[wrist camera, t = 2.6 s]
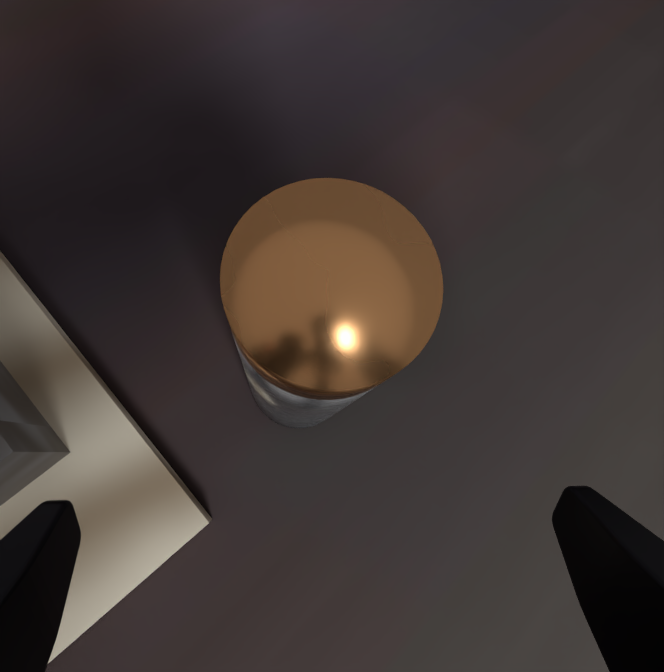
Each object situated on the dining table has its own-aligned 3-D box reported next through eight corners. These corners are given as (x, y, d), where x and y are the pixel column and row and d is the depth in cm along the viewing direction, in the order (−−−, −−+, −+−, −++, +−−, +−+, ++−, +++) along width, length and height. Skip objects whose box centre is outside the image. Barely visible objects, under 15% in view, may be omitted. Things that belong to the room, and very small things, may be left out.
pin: (365, 385, 20) (486, 295, 9) (292, 449, 19) (322, 439, 8) (304, 314, 21) (344, 140, 9) (230, 373, 20) (171, 261, 8)
